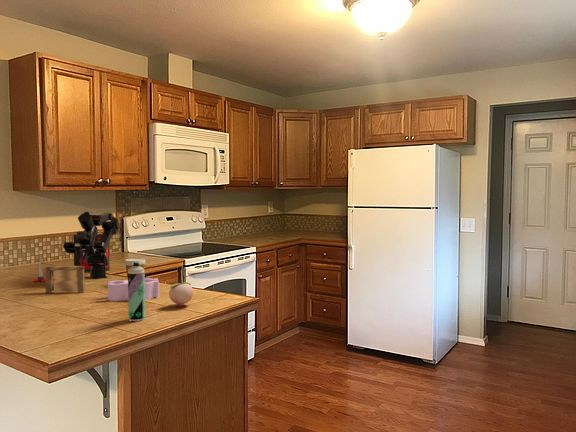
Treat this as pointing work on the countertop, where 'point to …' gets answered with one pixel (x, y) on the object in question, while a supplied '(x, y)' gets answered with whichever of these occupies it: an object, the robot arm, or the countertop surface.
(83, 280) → the frame
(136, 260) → the disposable coffee cup
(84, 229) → the robot arm
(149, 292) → the clip
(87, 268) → the cleaning product box
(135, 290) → the spray can
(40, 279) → the tow hook
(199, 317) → the countertop surface
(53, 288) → the door
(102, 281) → the countertop surface
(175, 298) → the decorative fruit
